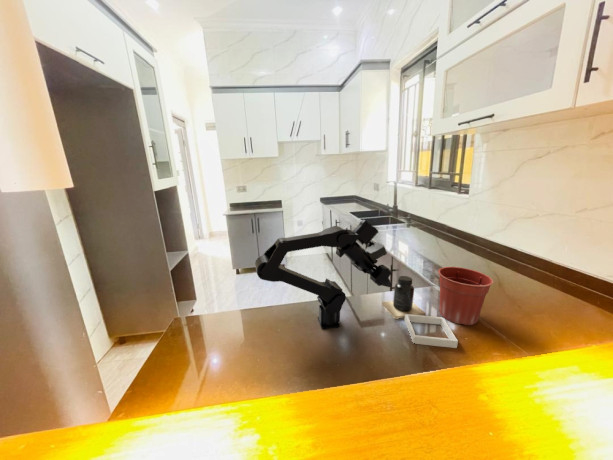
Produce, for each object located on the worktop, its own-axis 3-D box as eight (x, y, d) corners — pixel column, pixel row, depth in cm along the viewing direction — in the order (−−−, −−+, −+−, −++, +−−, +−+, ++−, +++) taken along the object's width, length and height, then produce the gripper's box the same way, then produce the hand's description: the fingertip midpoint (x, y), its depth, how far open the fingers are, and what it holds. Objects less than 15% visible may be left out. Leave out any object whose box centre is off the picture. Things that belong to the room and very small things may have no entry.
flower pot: (476, 308, 97) (483, 269, 94) (492, 333, 82) (501, 289, 78) (429, 301, 102) (434, 264, 98) (437, 324, 87) (443, 282, 83)
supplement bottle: (416, 311, 93) (419, 281, 90) (399, 313, 92) (402, 283, 89) (404, 301, 100) (407, 273, 97) (389, 303, 98) (392, 275, 95)
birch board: (394, 319, 90) (395, 316, 90) (381, 304, 100) (382, 302, 99) (425, 316, 92) (425, 313, 92) (409, 302, 102) (409, 299, 101)
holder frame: (412, 343, 78) (413, 336, 77) (404, 319, 90) (404, 313, 89) (456, 348, 76) (458, 341, 75) (442, 323, 88) (443, 317, 87)
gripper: (388, 244, 76) (415, 274, 82) (359, 230, 94) (383, 255, 99) (363, 271, 76) (392, 299, 82) (339, 252, 94) (364, 276, 99)
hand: (383, 280), depth 90 cm, fingers open, 9 cm apart
